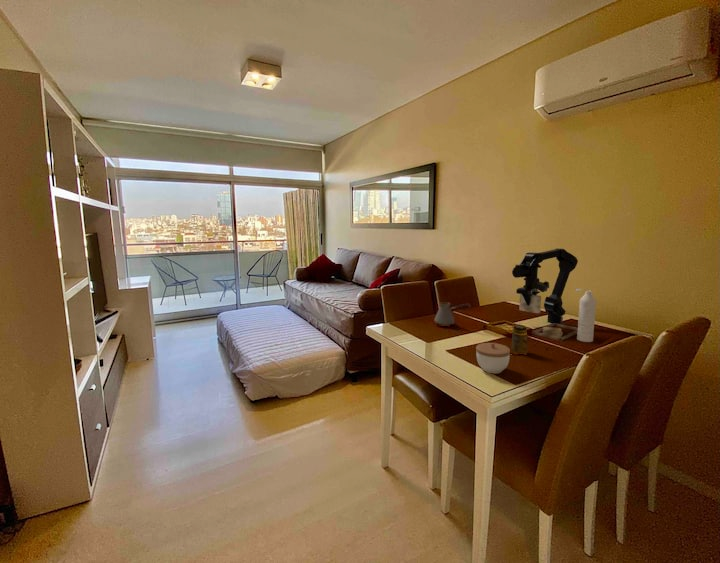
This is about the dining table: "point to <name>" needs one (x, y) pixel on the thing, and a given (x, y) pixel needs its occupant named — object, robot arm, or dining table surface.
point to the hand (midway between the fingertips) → (529, 304)
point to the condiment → (519, 339)
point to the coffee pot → (446, 313)
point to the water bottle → (586, 317)
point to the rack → (554, 336)
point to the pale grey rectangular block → (531, 304)
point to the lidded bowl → (492, 357)
